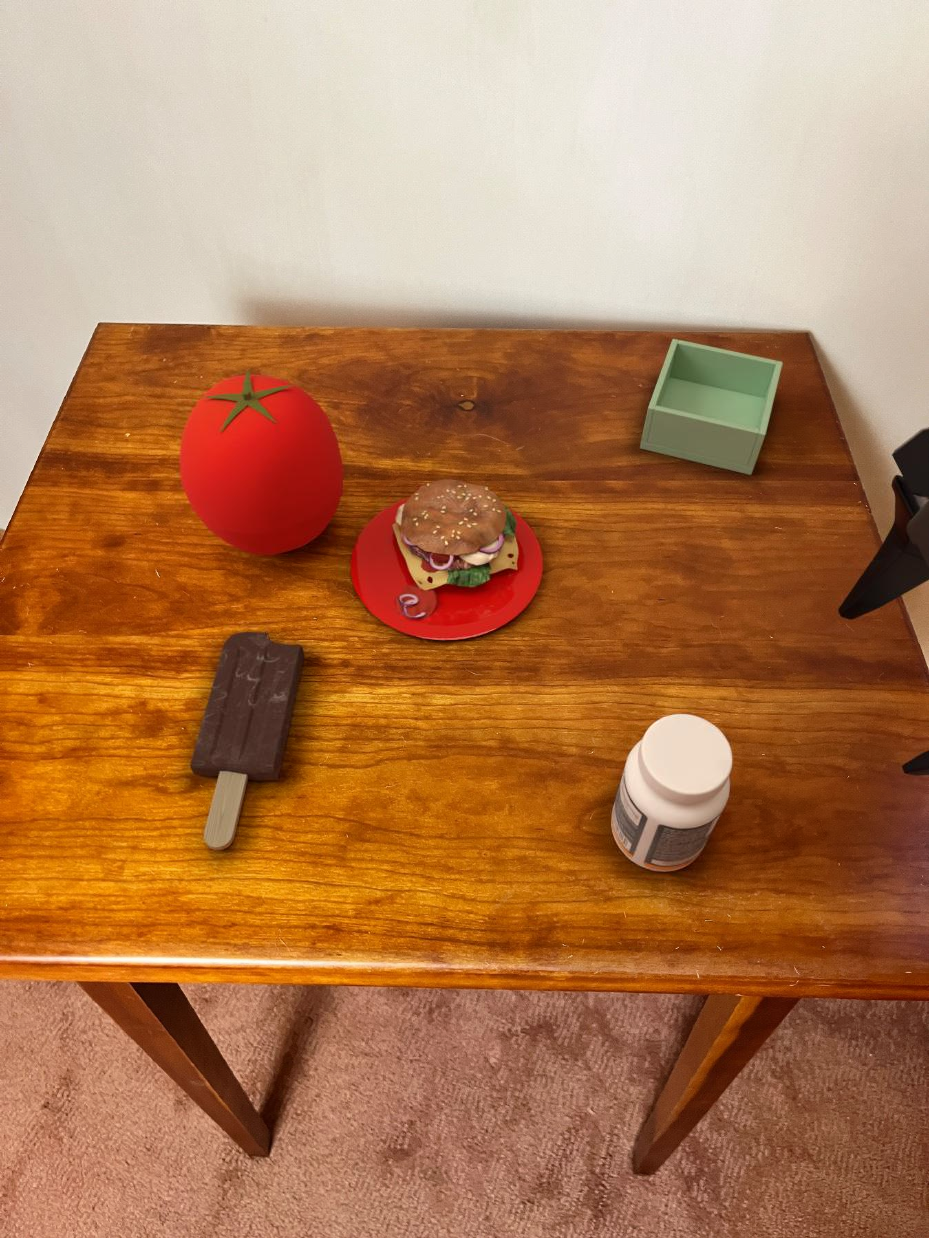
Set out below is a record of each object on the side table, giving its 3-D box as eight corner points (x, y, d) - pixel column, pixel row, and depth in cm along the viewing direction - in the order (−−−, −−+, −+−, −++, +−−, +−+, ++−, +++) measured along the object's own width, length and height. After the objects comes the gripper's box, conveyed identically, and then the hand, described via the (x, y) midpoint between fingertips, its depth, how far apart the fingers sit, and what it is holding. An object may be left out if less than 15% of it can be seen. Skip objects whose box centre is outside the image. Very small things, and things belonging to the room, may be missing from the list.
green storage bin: (768, 403, 77) (783, 361, 73) (751, 475, 72) (765, 434, 68) (663, 379, 79) (672, 338, 75) (639, 448, 74) (648, 407, 70)
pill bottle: (715, 806, 56) (756, 727, 48) (688, 891, 53) (728, 821, 44) (626, 771, 57) (651, 688, 49) (595, 852, 54) (617, 777, 46)
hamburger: (332, 518, 69) (321, 461, 65) (505, 477, 72) (508, 419, 67) (378, 665, 62) (370, 612, 57) (571, 614, 64) (579, 559, 59)
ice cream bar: (262, 857, 54) (307, 646, 63) (257, 846, 52) (303, 633, 61) (175, 850, 54) (231, 642, 63) (167, 839, 53) (226, 628, 61)
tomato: (343, 590, 65) (319, 460, 55) (193, 585, 66) (141, 456, 55) (360, 477, 72) (342, 342, 62) (224, 473, 72) (183, 338, 62)
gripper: (975, 279, 38) (713, 509, 48) (1238, 665, 27) (829, 850, 38) (1115, 370, 43) (851, 560, 53) (1380, 723, 32) (986, 871, 43)
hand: (874, 689), depth 47 cm, fingers open, 9 cm apart
